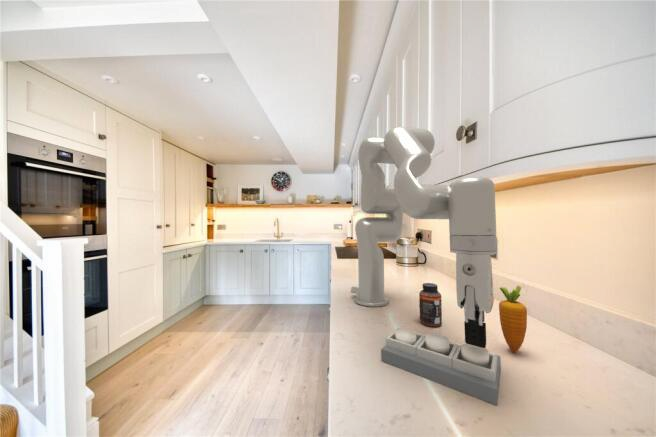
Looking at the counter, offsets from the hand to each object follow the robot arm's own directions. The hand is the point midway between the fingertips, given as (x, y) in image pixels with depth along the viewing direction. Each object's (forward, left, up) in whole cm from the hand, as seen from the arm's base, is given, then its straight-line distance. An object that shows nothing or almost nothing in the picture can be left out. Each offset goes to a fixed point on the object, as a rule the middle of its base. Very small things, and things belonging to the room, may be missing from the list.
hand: (475, 343), depth 43 cm
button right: (0, 0, -3) cm, 3 cm away
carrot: (+5, +16, -7) cm, 18 cm away
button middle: (-7, 0, -3) cm, 7 cm away
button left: (-13, 0, -4) cm, 14 cm away
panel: (-7, +1, -7) cm, 10 cm away
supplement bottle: (-14, +21, -7) cm, 26 cm away
